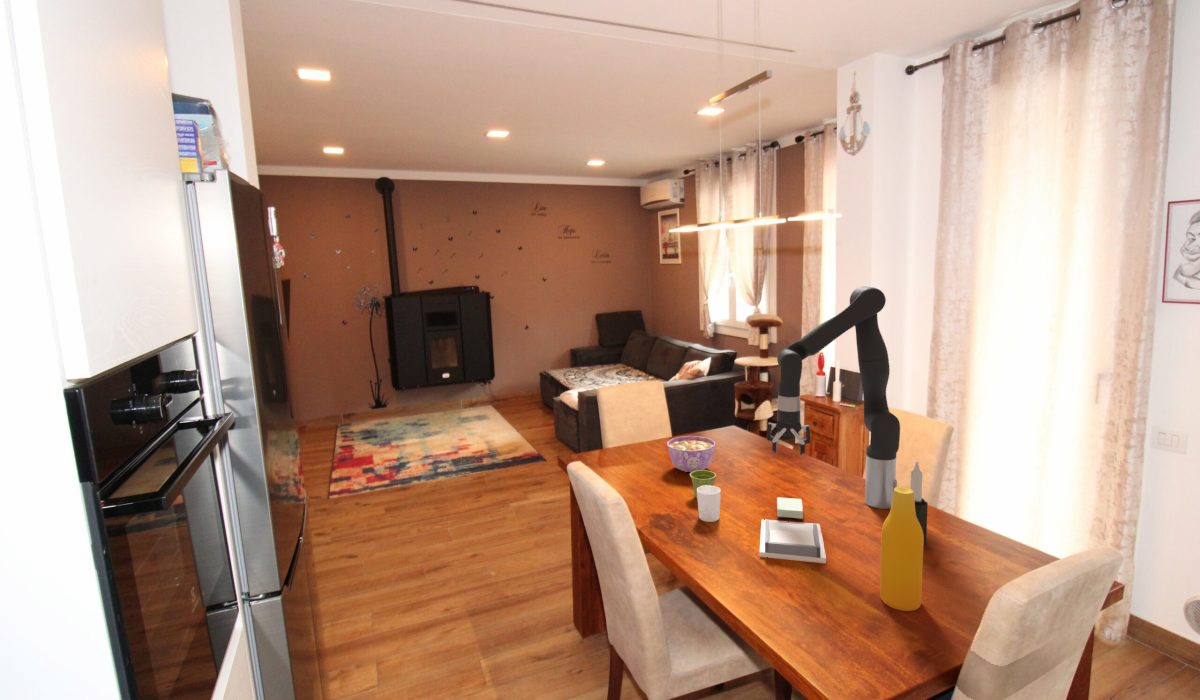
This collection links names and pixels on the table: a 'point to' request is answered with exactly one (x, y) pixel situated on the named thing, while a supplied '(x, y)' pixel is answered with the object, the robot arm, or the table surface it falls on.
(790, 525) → the loading dock
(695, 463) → the bowl of food
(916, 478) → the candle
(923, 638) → the table surface
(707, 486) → the white cup
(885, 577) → the beer bottle
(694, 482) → the plant pot
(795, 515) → the grey rectangular block
